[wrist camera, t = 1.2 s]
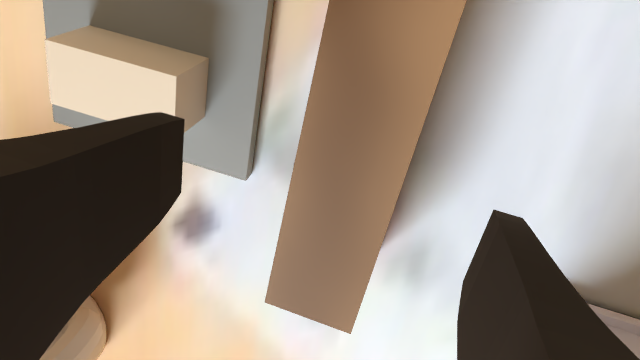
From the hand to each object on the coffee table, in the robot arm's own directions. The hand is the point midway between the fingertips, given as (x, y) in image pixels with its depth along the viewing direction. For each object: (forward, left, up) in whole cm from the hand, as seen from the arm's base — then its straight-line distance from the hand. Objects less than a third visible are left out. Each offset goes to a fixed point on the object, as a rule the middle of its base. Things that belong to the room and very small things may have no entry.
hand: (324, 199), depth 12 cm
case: (0, 0, -8) cm, 8 cm away
